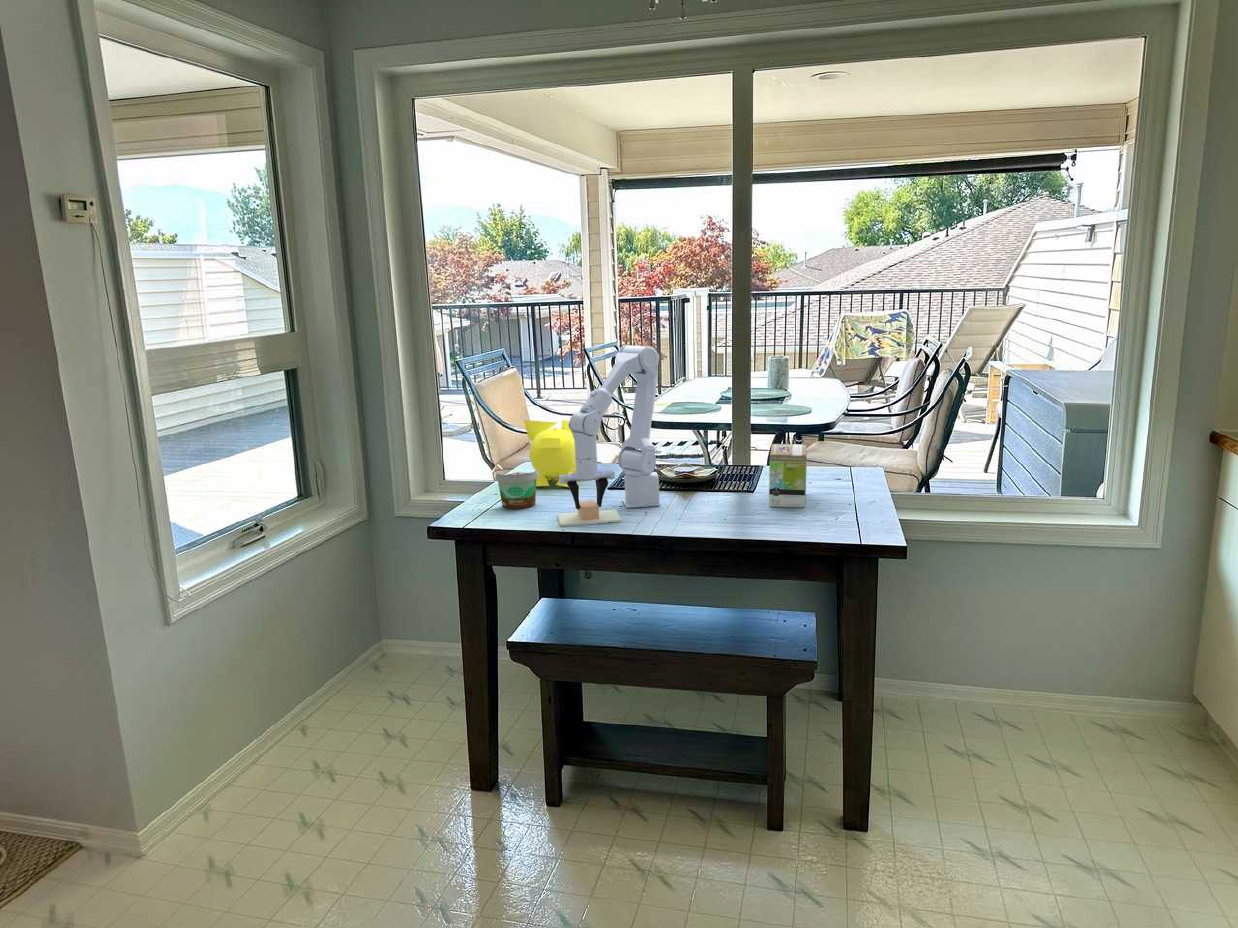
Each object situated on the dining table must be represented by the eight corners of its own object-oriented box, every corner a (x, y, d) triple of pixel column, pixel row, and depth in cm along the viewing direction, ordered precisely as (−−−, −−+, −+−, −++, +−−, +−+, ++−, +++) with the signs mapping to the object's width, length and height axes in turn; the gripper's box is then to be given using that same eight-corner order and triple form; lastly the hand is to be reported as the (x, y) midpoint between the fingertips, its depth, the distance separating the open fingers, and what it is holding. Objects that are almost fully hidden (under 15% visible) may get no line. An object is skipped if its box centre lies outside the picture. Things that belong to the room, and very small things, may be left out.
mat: (616, 511, 239) (616, 509, 239) (621, 521, 229) (621, 519, 229) (557, 515, 237) (557, 513, 237) (560, 526, 227) (560, 524, 227)
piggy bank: (592, 474, 281) (589, 415, 277) (583, 490, 262) (580, 427, 258) (531, 475, 284) (527, 416, 279) (518, 490, 265) (514, 428, 260)
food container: (498, 512, 242) (496, 477, 240) (497, 506, 248) (494, 472, 246) (542, 508, 245) (540, 473, 242) (540, 502, 250) (538, 468, 248)
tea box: (806, 508, 235) (806, 454, 232) (768, 507, 238) (768, 454, 234) (806, 493, 250) (806, 442, 246) (770, 493, 252) (770, 442, 248)
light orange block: (599, 518, 231) (598, 505, 230) (582, 520, 230) (581, 507, 229) (594, 512, 237) (593, 500, 236) (578, 514, 236) (577, 501, 235)
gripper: (609, 451, 235) (611, 500, 238) (556, 456, 231) (558, 506, 235) (615, 457, 228) (617, 507, 231) (560, 462, 225) (563, 513, 228)
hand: (588, 507), depth 232 cm, fingers open, 5 cm apart
